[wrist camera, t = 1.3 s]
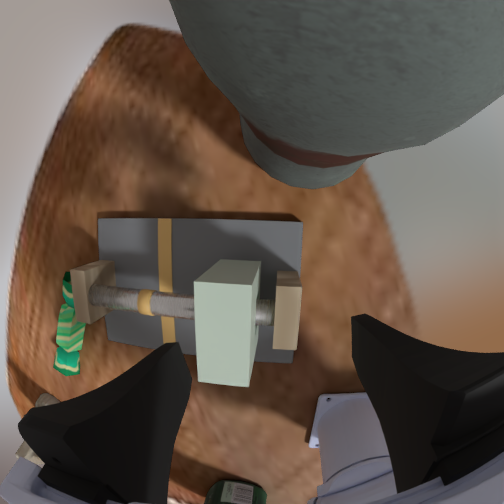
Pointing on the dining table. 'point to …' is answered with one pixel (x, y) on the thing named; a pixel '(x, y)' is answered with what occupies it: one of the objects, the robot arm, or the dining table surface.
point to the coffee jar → (235, 493)
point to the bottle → (345, 75)
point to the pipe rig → (188, 279)
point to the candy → (68, 334)
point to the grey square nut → (227, 321)
